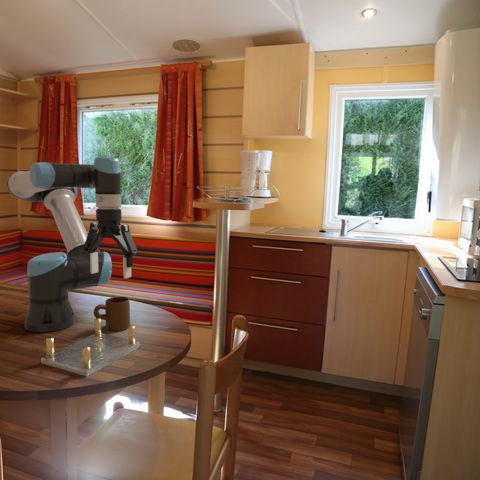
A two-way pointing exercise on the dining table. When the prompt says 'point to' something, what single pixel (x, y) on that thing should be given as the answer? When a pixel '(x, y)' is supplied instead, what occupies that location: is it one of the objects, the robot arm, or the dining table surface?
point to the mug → (115, 313)
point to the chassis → (90, 351)
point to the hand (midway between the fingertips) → (110, 275)
